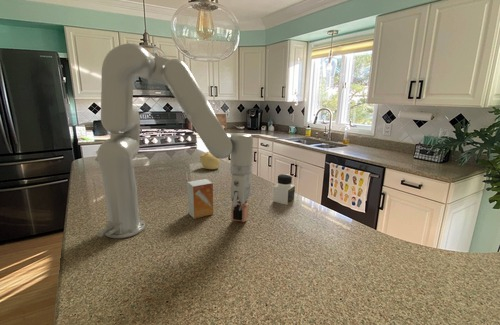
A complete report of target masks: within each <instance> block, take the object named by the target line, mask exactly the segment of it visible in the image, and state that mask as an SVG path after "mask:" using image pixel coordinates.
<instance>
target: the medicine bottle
mask: <svg viewBox="0 0 500 325" xmlns="http://www.w3.org/2000/svg"><path fill="white" fill-rule="evenodd" d="M292 178H293V176H292V175H290V174H287V173H281V174H278V175H277V184H276V185H274V186H273V192H272V193H273V195H272V196H273V197H272V199H273V200H272V201H273V203H278V204H280V205H281V204H282V205H286V206H288V205H290V204H291V203H292V202H293V201H295V193H296V192H295V191H296V190H295V189H296V185H295V184H292V182H293V181H292V180H293V179H292Z"/></svg>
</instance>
